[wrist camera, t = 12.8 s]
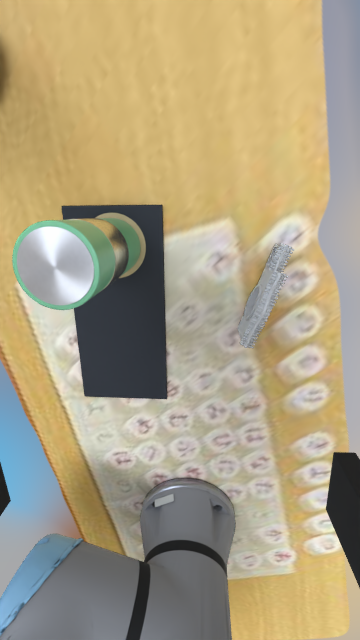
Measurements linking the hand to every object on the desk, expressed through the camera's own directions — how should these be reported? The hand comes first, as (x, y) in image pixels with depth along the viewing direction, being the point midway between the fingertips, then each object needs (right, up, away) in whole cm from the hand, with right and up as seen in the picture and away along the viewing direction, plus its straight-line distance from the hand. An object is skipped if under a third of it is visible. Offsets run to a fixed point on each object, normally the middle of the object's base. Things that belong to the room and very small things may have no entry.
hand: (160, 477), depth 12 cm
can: (-8, +9, +19) cm, 23 cm away
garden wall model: (+11, +10, +27) cm, 30 cm away
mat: (-7, +7, +29) cm, 31 cm away
